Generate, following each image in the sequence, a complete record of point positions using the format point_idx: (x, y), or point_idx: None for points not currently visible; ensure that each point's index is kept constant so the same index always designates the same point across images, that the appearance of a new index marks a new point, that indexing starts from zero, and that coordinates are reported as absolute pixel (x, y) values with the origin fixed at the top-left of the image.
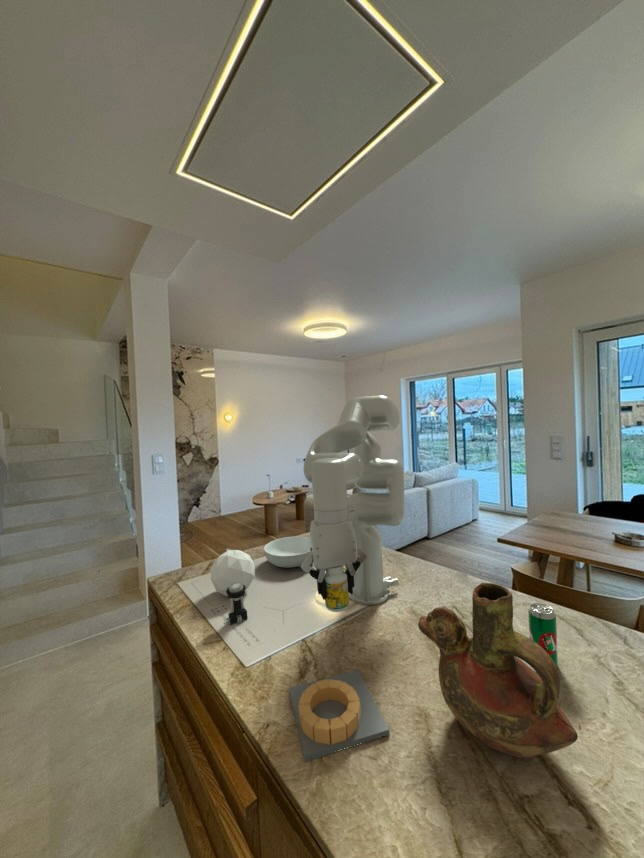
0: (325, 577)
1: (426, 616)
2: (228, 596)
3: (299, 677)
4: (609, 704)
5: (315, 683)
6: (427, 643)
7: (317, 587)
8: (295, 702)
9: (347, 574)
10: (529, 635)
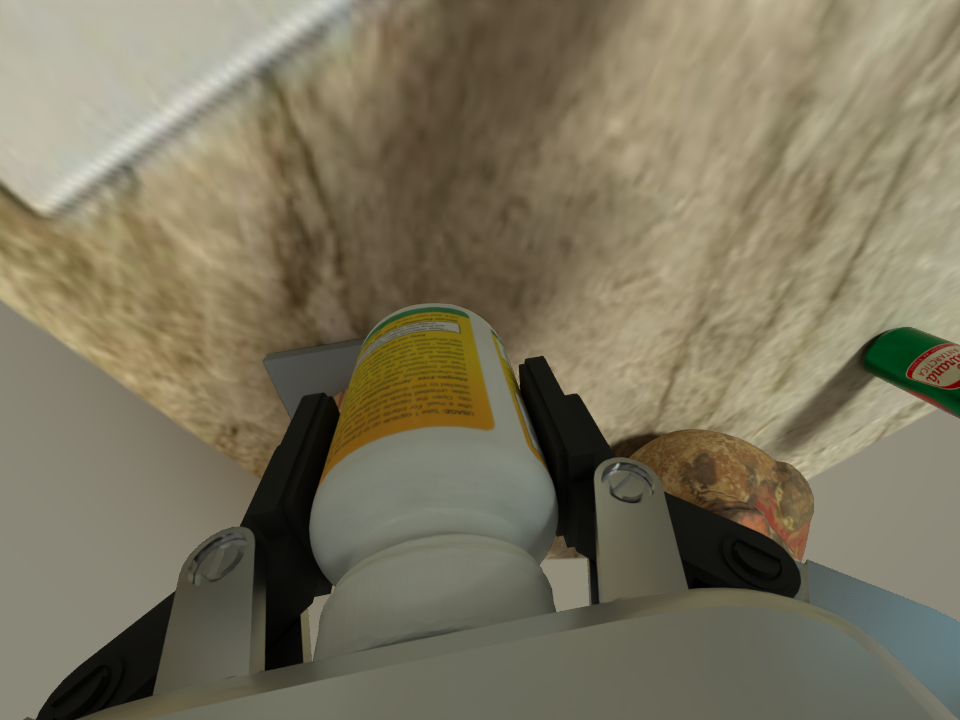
0: (332, 583)
1: (746, 525)
2: None
3: (288, 304)
4: (849, 437)
5: (340, 412)
6: (724, 228)
7: (269, 465)
8: (291, 405)
9: (567, 504)
10: (943, 370)
